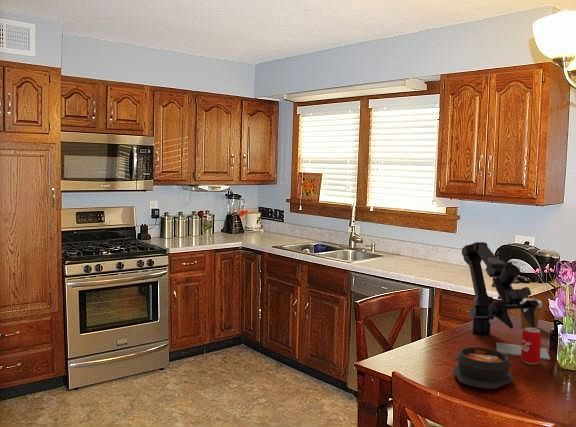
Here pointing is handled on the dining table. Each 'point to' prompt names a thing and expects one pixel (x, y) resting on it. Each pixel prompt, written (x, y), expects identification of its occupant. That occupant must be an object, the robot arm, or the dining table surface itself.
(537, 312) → the disposable coffee cup
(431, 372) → the dining table surface
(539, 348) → the beverage can
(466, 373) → the casserole
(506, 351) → the slate mat
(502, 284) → the robot arm
